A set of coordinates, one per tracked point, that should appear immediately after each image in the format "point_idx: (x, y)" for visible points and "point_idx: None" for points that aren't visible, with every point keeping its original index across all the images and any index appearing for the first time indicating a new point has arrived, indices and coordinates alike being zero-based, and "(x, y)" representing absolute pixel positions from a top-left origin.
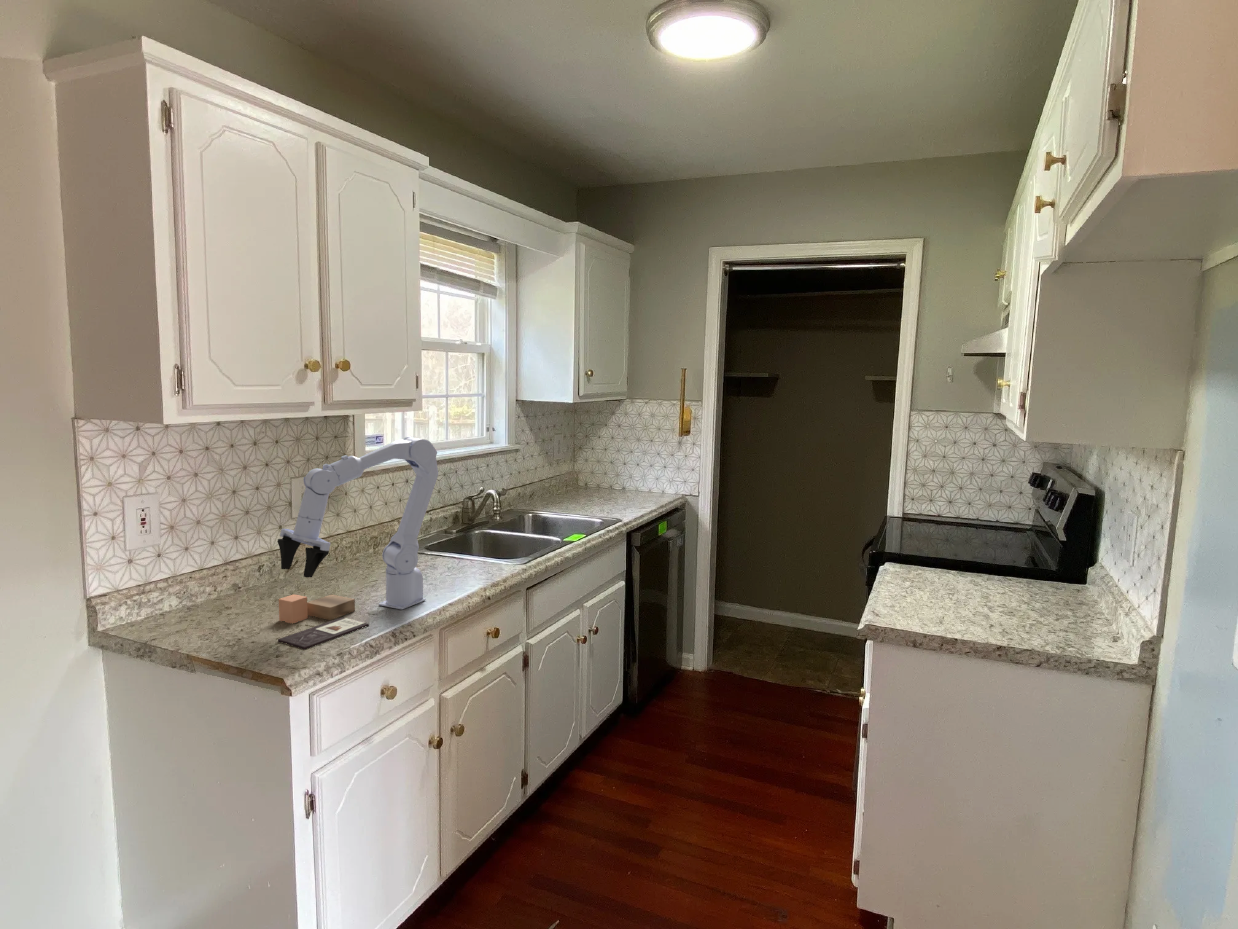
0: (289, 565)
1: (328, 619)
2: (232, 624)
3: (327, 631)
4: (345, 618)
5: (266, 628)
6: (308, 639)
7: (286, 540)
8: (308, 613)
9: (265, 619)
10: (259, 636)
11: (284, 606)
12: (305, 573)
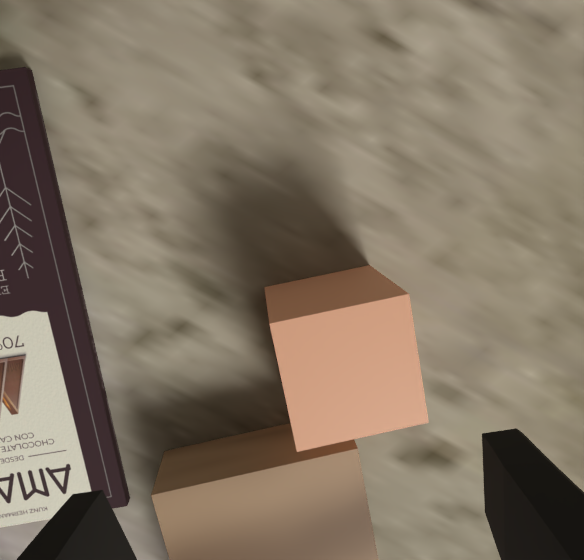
0: (505, 546)
1: (180, 448)
2: (520, 54)
3: None
4: None
5: (303, 149)
6: None
7: None
8: None
9: (450, 225)
10: (201, 47)
11: (341, 296)
12: (48, 528)
